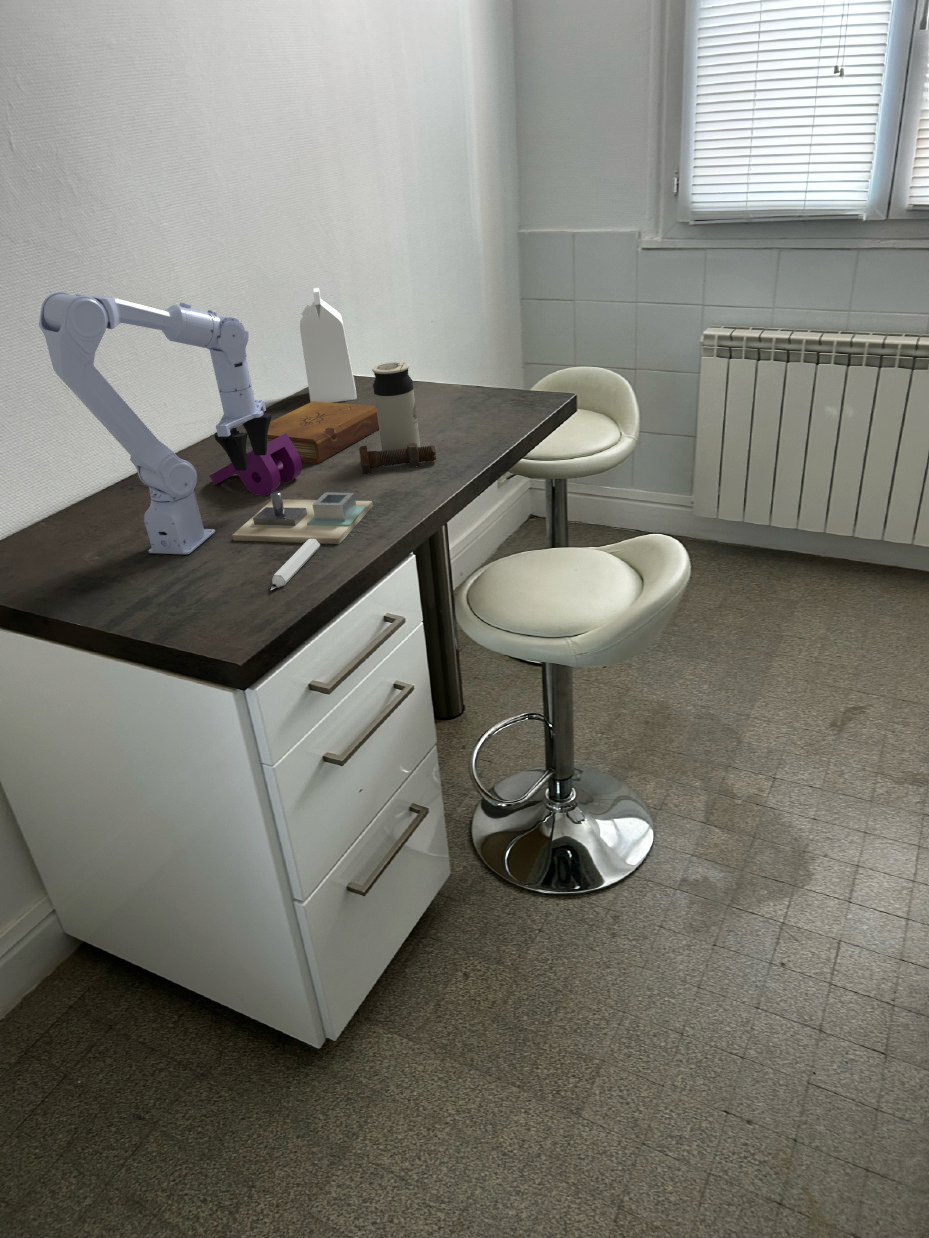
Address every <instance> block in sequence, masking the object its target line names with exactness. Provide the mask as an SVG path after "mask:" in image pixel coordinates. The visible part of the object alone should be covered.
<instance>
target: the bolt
mask: <svg viewBox="0 0 929 1238" xmlns="http://www.w3.org/2000/svg"><path fill="white" fill-rule="evenodd" d="M358 451H359V457H360V458H359V459H360V466H361V472H362V473H361V474H362V475H364V474H365V475H369V474H368V473H370V474H371V469H378V468H381V467H382V468H384V467H388V466H389V467H391V466H393V467H394V466H400V465H402V466H403V465H408V466H409V465H410V466H409V467H410V468H417V467H416V466H418V467H419V466H420V463H423V462H424V463H426V462H435V461H436V460H437V452H436V447H435V445H424V446H420V447H417V444H416V443H409V444H408V445H407V448H405V449H404V448H403V449H398V450H397V449H396V450H394V449H393V450H388V451H387V450H386V451H384V450H383V451H382V450H369V451H368V447H367V445H361V446H359V449H358Z"/></svg>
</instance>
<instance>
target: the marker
mask: <svg viewBox="0 0 929 1238" xmlns="http://www.w3.org/2000/svg"><path fill="white" fill-rule="evenodd" d="M320 546H321V543H318V541H317V540H316V539H308V540H307V541H306V542H305V543H303V544H302V545H301V546H300V547H299V548H298V549H297V550H296V552H295V553H294V554H293V555H291V557H290V558H288V560H286V561H285V563H284V564H283V565H281V567H280V568H279V569H278V570H277V571H276V572H275V573H274V574H273V577H272V580H271V583H272V584H271V588H270V591H272V590H275V589H277V588H281V587H283V586H286V584H287V583H288V582H289V581H290V580H291V579H292V578H293V577H294V576H295V575H296V574H297V573H298V572H299V571H300V569H302V567H303V566H304V565H305V564H306V563H307V562H308V561H309V560H310V559H311V558H312V557H313V555H315V553H316V552H318V551H319V548H320Z"/></svg>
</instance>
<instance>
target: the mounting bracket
mask: <svg viewBox="0 0 929 1238" xmlns="http://www.w3.org/2000/svg"><path fill="white" fill-rule="evenodd" d="M246 454H247V462H248V468H247V470H245V471H236V470H235V468H234V466H233V464H232V462H230V463H228V465H225V466H224V467H222V468H220V469H218V470H217V471H215V472H213V473H212V474H209V475H208V476H209V478H210V480H211V482H212V483H213V485H214V486H216V485H218V484H220V483H221V482H223V481H225V480H226V479H228V478H230V477H232V476H234V475H237V476H238V477H239V479H240V480H241V482H242V483H243V485H244V486H245V488H246V489H247V490H248V492H250V493H251V494H253V495H255V496H262V497H263V496H265V497H266V496H269V495H271V493H273V492H276V490H277V489H278V488H279V486H280V485H281V483H286V482H288V483H289V482H291V481H294V479H296V478H297V477H299V476H300V474H301V472H302V469H303V463H302V462H303V461H301V458H300V456H299V454H298V452H297V450H296V449H295V447H294V445H293V443H292V442H291V440H290V438H289V437H288V435H287V433H285V434H283V435H281V436H280V437H278V438H276V439H274V440H272V441H270V442H268V443H267V454H266V455H255V454H254V452H253V450H251V452H248V453H246Z"/></svg>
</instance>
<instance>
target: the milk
mask: <svg viewBox="0 0 929 1238" xmlns="http://www.w3.org/2000/svg"><path fill="white" fill-rule="evenodd" d="M301 315H302V317H301V318H300V321H299V331H300V332H299V333H300V339H301V344H302V345H301V346H302V352H303V359H304V366H305V373H306V380H307V385H308V392H309V393H308V394H309V400H310V402H312V401H316V402H329V403H339V402H344V401H345V402H347V401H352V400H353V401H354V400H357V399H358V398H357V396H358V395H357V389H356V382H355V377H354V374H353V369H352V368H353V367H352V363H351V362H352V361H351V358H350V351H349V347H348V342H347V336H346V331H345V326H344V322H343V316H342V314H341V313H340V312H339V311H338V310H337V309H335V308H334V307H333V306H331V305H330V304H328V303H327V302H326V301H324V300H323V299H322V297H321V291H320V287H314V288H313V302H312V303H311V304H310V305H309V304H307V305H305V308H304V309H303V310H302V313H301Z"/></svg>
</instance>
